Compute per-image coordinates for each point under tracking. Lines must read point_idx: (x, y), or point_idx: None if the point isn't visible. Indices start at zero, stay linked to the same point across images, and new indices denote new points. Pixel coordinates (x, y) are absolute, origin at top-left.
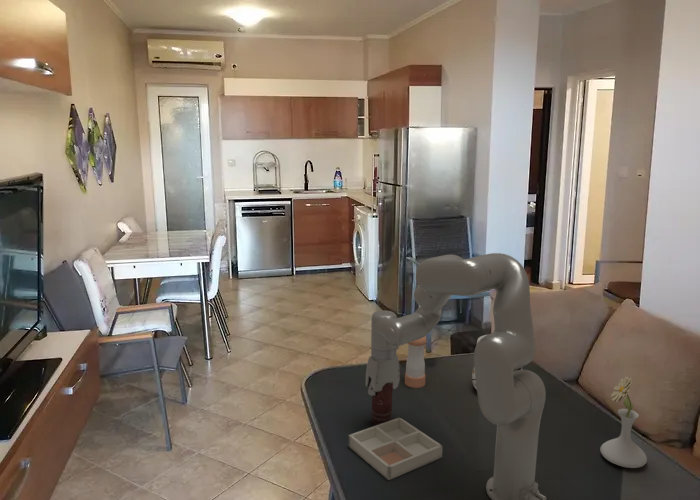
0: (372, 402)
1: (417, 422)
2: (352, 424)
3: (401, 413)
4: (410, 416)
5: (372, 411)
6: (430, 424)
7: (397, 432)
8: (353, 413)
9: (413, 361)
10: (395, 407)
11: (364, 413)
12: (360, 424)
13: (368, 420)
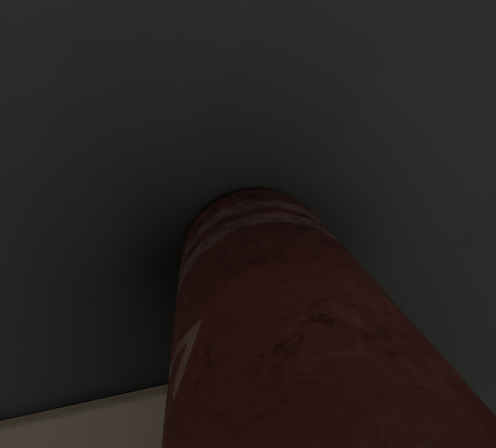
0: (170, 361)
1: (445, 329)
2: (25, 216)
3: (438, 202)
4: (460, 257)
5: (176, 303)
6: (487, 365)
7: None
8: (86, 44)
9: None
10: (462, 102)
11: (184, 88)
12: (89, 237)
13: (171, 206)
